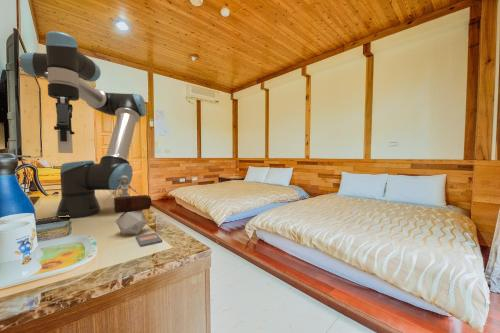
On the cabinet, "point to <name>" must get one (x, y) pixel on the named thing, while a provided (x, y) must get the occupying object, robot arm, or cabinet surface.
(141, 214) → the die
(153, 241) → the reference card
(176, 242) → the cabinet surface
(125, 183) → the human figurine
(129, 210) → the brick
